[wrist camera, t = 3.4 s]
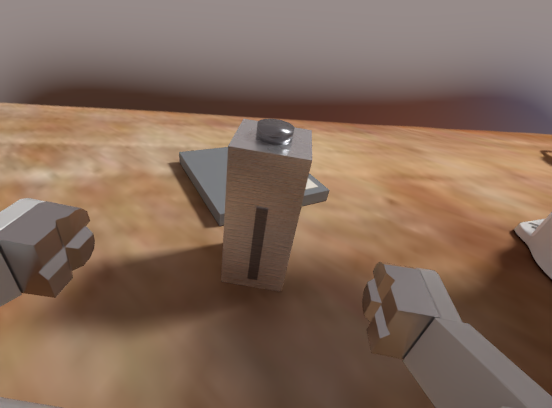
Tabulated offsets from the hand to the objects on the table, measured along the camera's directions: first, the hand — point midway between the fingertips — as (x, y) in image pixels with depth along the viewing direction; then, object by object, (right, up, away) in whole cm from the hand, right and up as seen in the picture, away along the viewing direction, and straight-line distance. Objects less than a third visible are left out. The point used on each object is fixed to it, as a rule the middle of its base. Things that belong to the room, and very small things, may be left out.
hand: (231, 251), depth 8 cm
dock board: (-2, +4, +29) cm, 30 cm away
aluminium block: (-1, -4, +18) cm, 18 cm away
